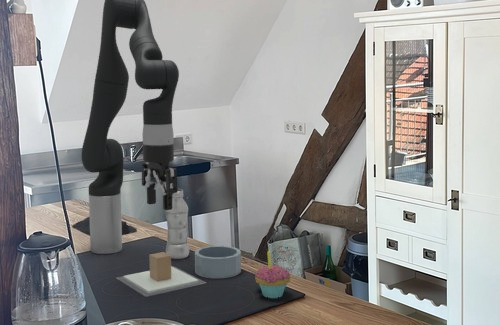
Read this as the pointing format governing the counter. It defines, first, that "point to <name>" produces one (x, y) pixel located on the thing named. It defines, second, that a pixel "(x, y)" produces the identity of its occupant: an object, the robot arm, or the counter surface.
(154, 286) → the lid
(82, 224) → the dark slate chunk
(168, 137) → the robot arm
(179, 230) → the plastic bottle
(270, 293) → the cupcake
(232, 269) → the bowl
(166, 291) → the mat
